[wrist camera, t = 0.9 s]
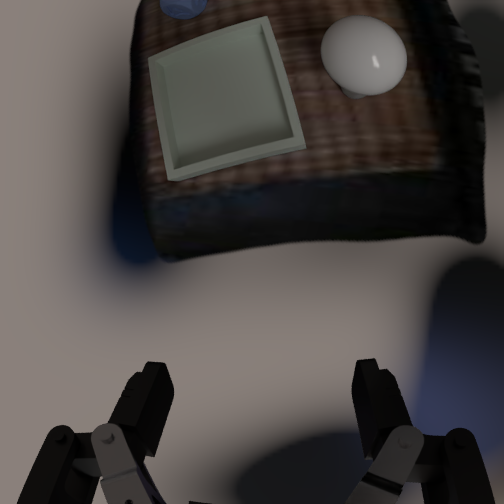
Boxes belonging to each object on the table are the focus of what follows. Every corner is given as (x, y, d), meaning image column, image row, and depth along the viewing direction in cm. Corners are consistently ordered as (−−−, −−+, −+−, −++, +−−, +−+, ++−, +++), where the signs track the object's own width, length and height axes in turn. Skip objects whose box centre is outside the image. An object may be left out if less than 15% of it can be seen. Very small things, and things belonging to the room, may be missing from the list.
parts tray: (158, 65, 28) (147, 58, 26) (271, 27, 25) (267, 15, 23) (179, 181, 30) (168, 180, 28) (306, 148, 27) (305, 143, 25)
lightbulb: (309, 97, 26) (302, 45, 15) (339, 50, 24) (344, -14, 14) (367, 131, 26) (394, 95, 15) (396, 82, 24) (429, 30, 13)
